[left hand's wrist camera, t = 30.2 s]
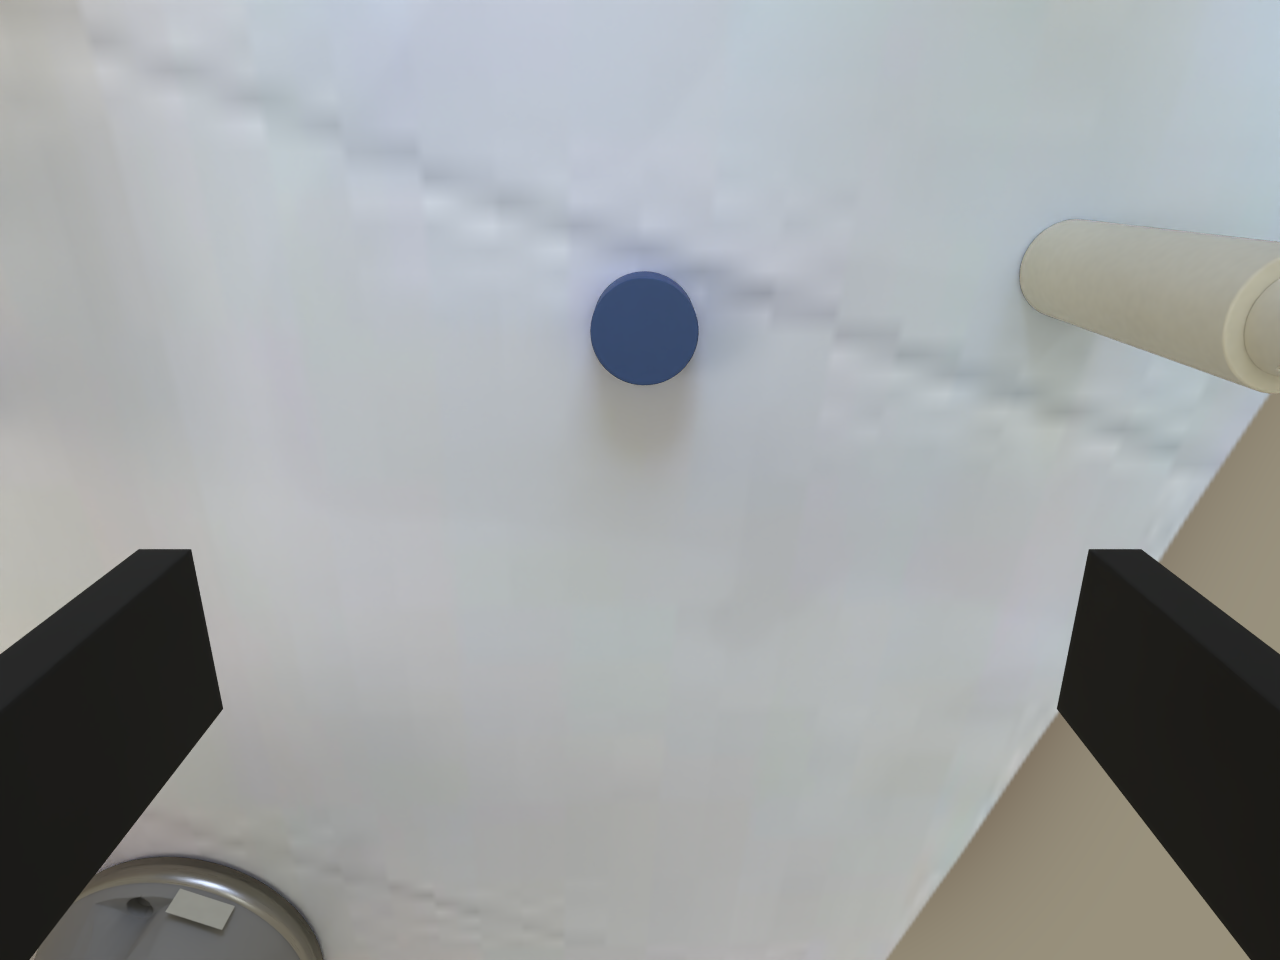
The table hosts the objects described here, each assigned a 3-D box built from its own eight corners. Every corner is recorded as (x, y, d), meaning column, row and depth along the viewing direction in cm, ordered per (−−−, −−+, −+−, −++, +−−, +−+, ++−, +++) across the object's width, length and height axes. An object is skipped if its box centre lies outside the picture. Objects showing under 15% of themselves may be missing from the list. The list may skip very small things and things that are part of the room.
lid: (683, 260, 36) (686, 266, 34) (704, 361, 37) (708, 372, 35) (582, 284, 36) (578, 291, 34) (606, 383, 38) (605, 395, 36)
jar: (1057, 336, 37) (1325, 443, 23) (999, 270, 36) (1240, 338, 22) (1134, 267, 36) (1467, 332, 22) (1077, 197, 35) (1385, 217, 21)
